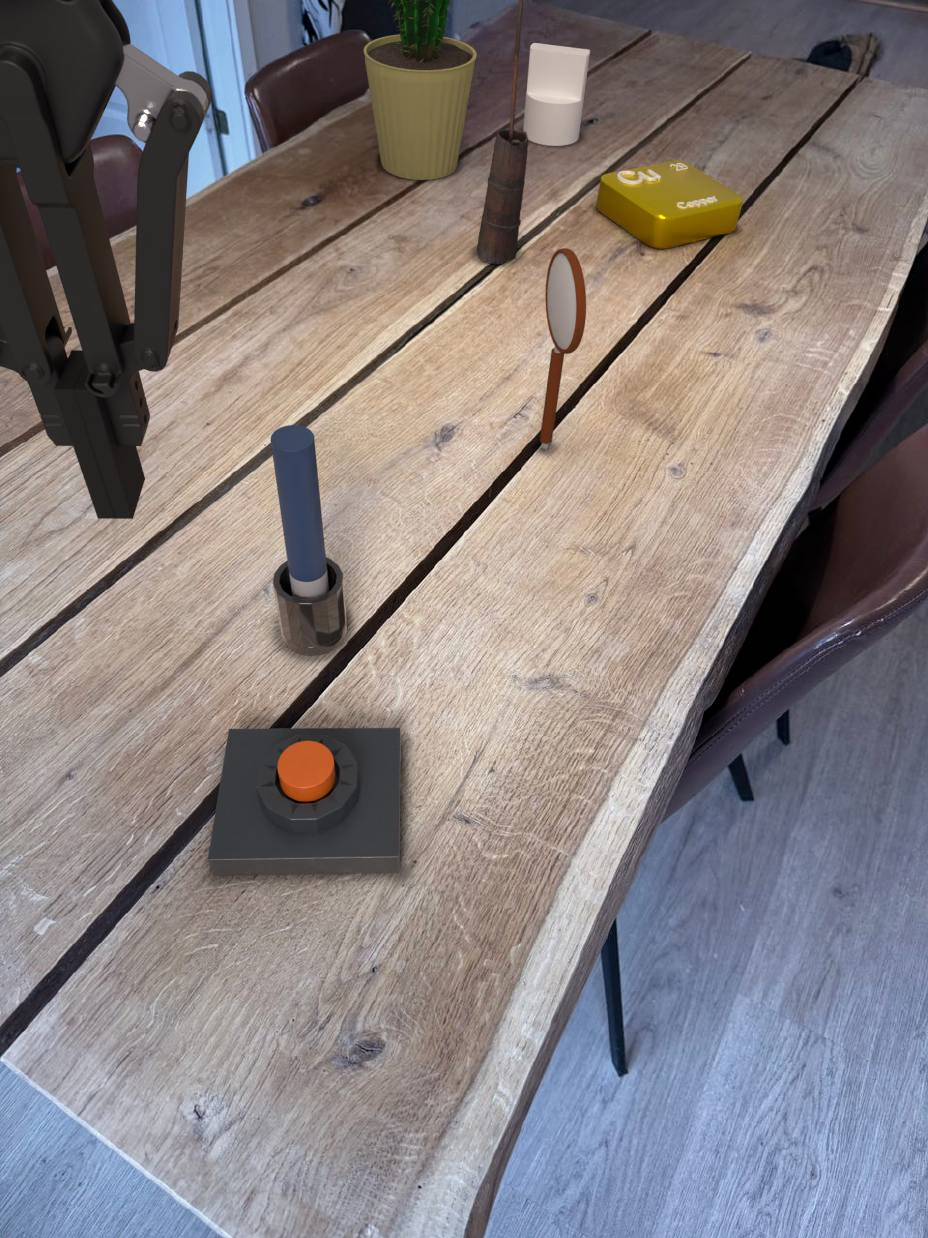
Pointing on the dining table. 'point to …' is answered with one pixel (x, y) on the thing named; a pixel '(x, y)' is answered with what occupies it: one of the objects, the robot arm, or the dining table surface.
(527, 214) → the dining table surface
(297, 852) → the station
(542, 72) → the base with upright slab
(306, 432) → the pen
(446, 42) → the potted cactus
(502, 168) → the butter churn
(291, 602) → the holder
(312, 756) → the button
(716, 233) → the element tile
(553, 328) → the magnifying glass
